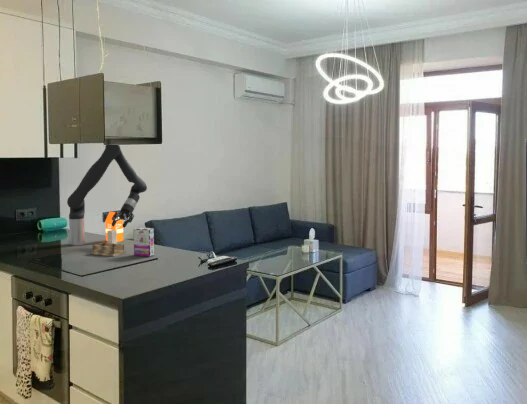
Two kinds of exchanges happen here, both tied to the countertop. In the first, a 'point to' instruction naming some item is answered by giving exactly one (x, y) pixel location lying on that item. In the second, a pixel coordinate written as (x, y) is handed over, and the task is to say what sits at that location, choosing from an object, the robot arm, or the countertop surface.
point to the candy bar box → (144, 242)
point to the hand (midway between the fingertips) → (118, 226)
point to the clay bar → (112, 236)
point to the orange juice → (117, 226)
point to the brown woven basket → (108, 249)
